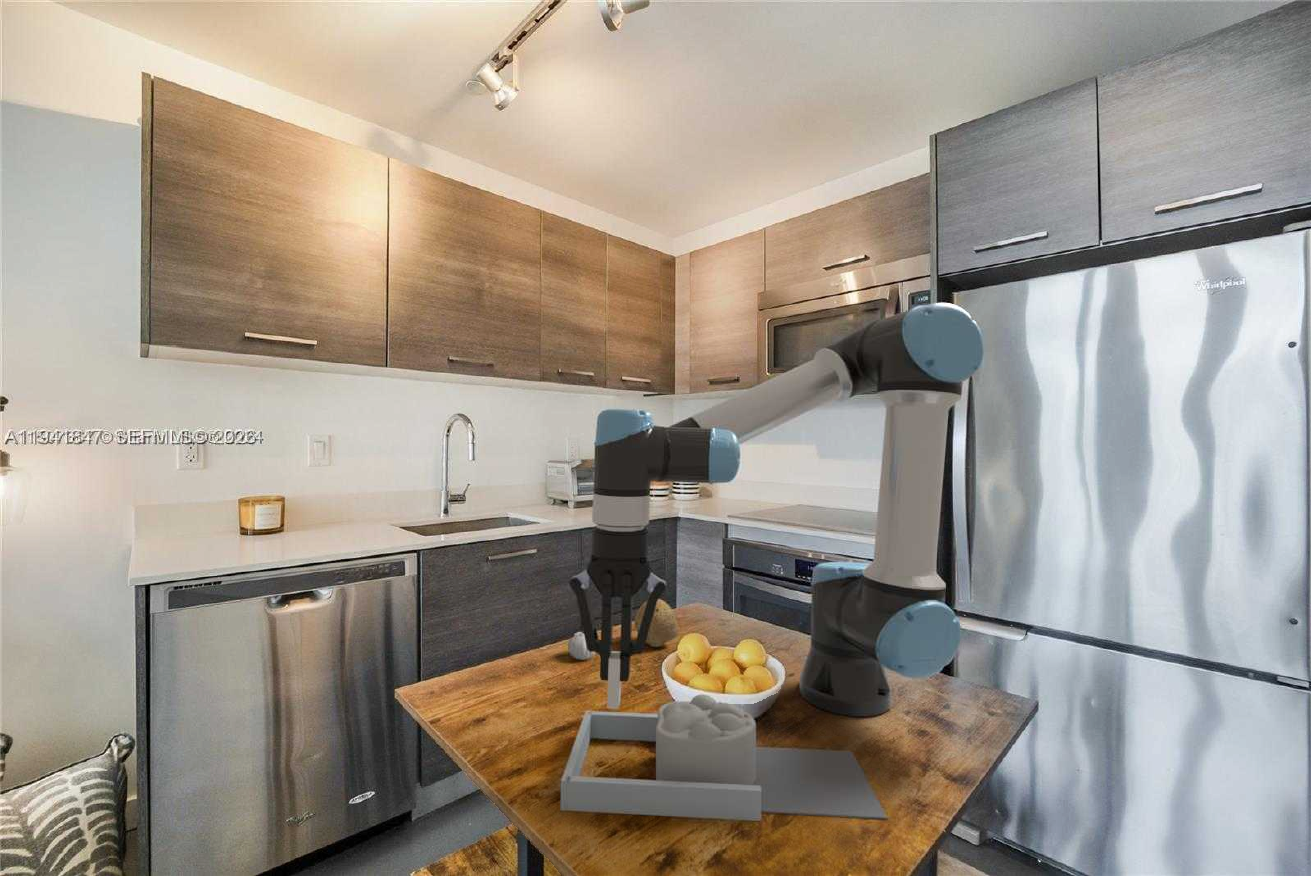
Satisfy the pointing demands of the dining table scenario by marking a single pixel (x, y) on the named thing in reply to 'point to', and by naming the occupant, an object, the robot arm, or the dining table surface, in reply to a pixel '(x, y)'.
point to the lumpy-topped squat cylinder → (705, 743)
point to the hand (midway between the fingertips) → (613, 703)
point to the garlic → (579, 647)
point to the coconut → (659, 624)
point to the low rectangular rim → (647, 793)
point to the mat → (814, 783)
